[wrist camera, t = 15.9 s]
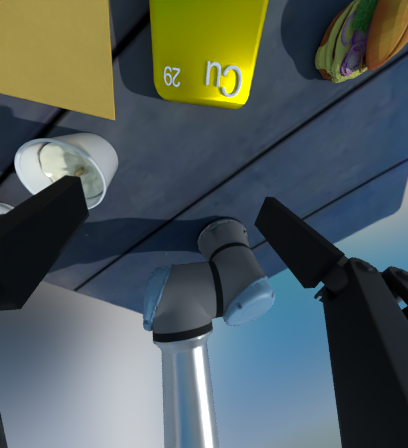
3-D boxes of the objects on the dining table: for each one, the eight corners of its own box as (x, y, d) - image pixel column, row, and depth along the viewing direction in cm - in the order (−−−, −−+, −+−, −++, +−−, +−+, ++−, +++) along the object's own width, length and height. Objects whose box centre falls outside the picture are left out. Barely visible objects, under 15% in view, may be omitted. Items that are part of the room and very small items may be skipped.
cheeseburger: (311, 19, 25) (396, -32, 17) (360, -7, 27) (461, -66, 19) (310, 95, 31) (373, 83, 24) (350, 71, 33) (423, 52, 25)
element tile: (261, -23, 22) (281, -48, 18) (237, 110, 31) (247, 111, 27) (147, -61, 19) (142, -101, 15) (156, 99, 28) (154, 98, 24)
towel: (115, 120, 28) (114, 120, 28) (-44, 82, 22) (-49, 81, 22) (104, -62, 18) (103, -66, 18) (-183, -212, 13) (-195, -223, 12)
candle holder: (88, 187, 34) (58, 219, 25) (49, 137, 28) (-11, 154, 18) (132, 172, 34) (119, 199, 24) (102, 119, 28) (70, 127, 18)
